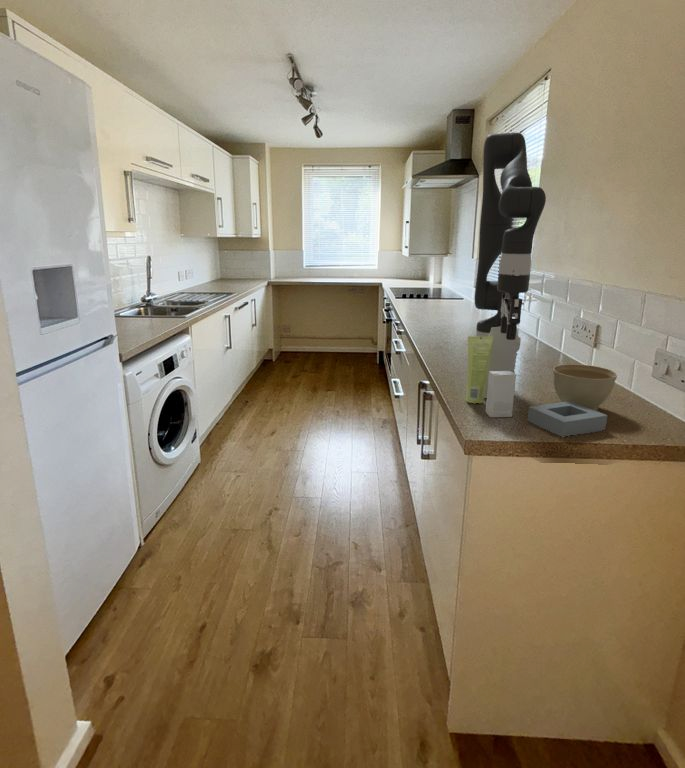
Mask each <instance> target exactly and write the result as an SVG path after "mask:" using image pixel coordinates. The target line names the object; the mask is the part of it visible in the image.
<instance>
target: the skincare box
mask: <svg viewBox="0 0 685 768" xmlns="http://www.w3.org/2000/svg"><path fill="white" fill-rule="evenodd" d="M516 378H517V374H516V373H513V372H511V371H489V377H488V390H487V399H486V401H485V413H486V414H487V415H488V417H490V418H510V417H511V418H512V417H513V411H514V409H513V408H514V401H515V400H514V399H515V391H516V390H515V389H516V382H517V381H516V380H517V379H516Z"/></svg>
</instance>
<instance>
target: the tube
mask: <svg viewBox="0 0 685 768" xmlns="http://www.w3.org/2000/svg"><path fill="white" fill-rule="evenodd" d="M492 342H493V337H476V335H475V336H474V335H473V336H469V335H468V336H467V377H466V393H465V394H466V395H465V401H466V402H467V403H470V404H476V403H479V404H482V403H483V402H484V399H483V397H484V390H485V382H486V375H487V369H488V363H489V357H490V352H491V347H492ZM476 405H477V404H476Z"/></svg>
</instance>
